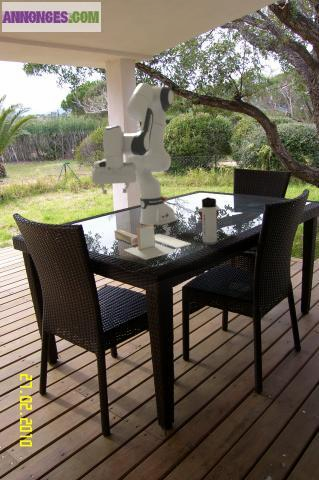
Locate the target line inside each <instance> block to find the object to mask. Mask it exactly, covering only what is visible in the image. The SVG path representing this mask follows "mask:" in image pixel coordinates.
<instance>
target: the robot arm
mask: <svg viewBox="0 0 319 480" xmlns="http://www.w3.org/2000/svg"><path fill="white" fill-rule="evenodd" d="M173 103H174V92H173V90H172V89H171V87H169V86H157V85H155V86H152V85H151V84H150V83H147V82H141V83H139V84H138V85H137V86H136V88H135V89H134V91H133V92H132V93H131V96H130V98H129V100H128V103H127V106H126V107H127V113H128V114H129V117H131V118H132V119H133V120H135V121H137V122H140V123H141V124H140V129H139V131H137V132H135V133H134V132H133V133H129V132H128V133H125V132H123V131H122V126H121V125H116V124H115V125H108V126H105V127H104V129H103V132H102V133H103V134H102V148H103V159H100V160H97V161H95V162H93V167H94V168H93V169H92V172H91V182H92V184H93V185H99V187H100V189H101V190H102V194H103V195H107V193H108V191H107V189H105V188H104V187H105V185H112V184H115V185H116V184H124V185H125V186H124V188H122V193H123V194H127V192H128V188H129V186H130V184H131V183H132V184H133V183H136V182H137V180H138V183H139V191H140V198H139V199H140V200H139V201H140V207H141V208H140V210H141V211H140V220H139V224H141V225H143V226H144V225H149V224H154V226H156V225H157V226H160V225H161V226H163V225H167V224H170V223H173V222H176V221H178V220H179V219H180V218H179V217H178V216H177V215H176V214H175V210H174V209H173V208H172V207H170V206H169V205H168V204H166V203H165V202H166V201H168V197H167V196H162V193H161V190H162V189H161V188H162V187H161V182H160V180H158V179H157V178H155V176H154V175H153V173H162V172H165V171H168V170H169V169H170V167H171V164H172V158H171V155H170V154H169V153H168V152H167V150H166V148H165V147H164V137H165V136H164V135H165V131H166V130H165V129H166V121H167V118H166V117H167V115H166V114H167V113H166V112H168V111H169V109H170V108H171V107H172V105H173ZM124 155H126V156H127V155H128V156H127V161H126V162H124Z"/></svg>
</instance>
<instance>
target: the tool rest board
mask: <svg viewBox="0 0 319 480" xmlns="http://www.w3.org/2000/svg"><path fill="white" fill-rule="evenodd" d="M154 236H155V242H158V243H160V244H164V245H166V246H168V247H170V248H171V247H172V248H173V249H180V248H184V247H188V246H192V243H190V242H187V241H184V240H181V239H179V238H174V237H172V236H169V235H166V234H163V233H157V234H154Z"/></svg>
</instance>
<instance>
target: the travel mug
mask: <svg viewBox="0 0 319 480" xmlns="http://www.w3.org/2000/svg"><path fill="white" fill-rule="evenodd" d="M216 207H217V199H216V198H214V197H209V196H207V197H204V198H202V199H201V208H202V223H201V226H202V243H203V244H204V245H209V246H210V245H215V244H217V243H218V236H217V232H218V231H217V230H218V227H217V226H218V224H217V223H218V218H217V219H216Z"/></svg>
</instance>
